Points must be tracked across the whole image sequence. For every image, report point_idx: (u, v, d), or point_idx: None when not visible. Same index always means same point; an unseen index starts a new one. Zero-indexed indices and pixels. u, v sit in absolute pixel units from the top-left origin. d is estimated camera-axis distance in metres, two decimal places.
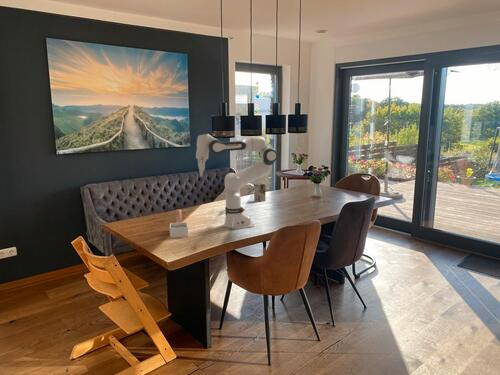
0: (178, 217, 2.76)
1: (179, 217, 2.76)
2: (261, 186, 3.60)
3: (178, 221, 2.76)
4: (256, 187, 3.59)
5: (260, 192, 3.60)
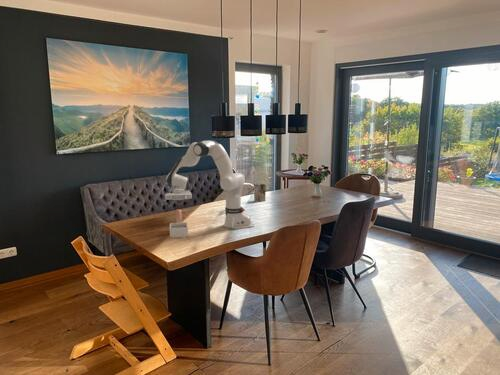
0: (178, 217, 2.76)
1: (179, 217, 2.76)
2: (261, 186, 3.60)
3: (178, 221, 2.76)
4: (256, 187, 3.59)
5: (260, 192, 3.60)
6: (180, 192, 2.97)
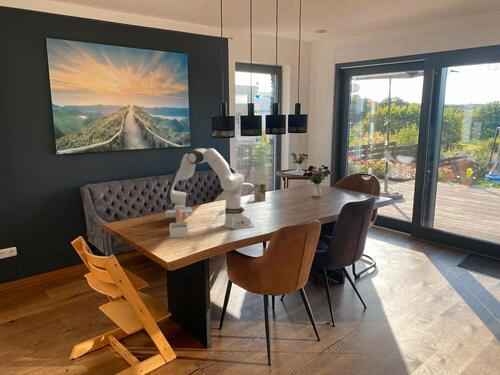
0: (178, 217, 2.76)
1: (179, 217, 2.76)
2: (261, 186, 3.60)
3: (178, 221, 2.76)
4: (256, 187, 3.59)
5: (260, 192, 3.60)
6: (181, 209, 2.94)
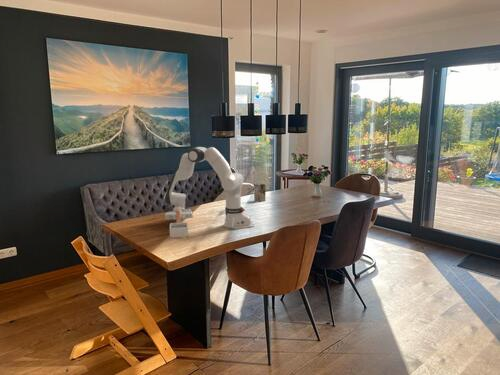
0: (178, 217, 2.76)
1: (179, 217, 2.76)
2: (261, 186, 3.60)
3: (178, 221, 2.76)
4: (256, 187, 3.59)
5: (260, 192, 3.60)
6: (181, 211, 2.87)
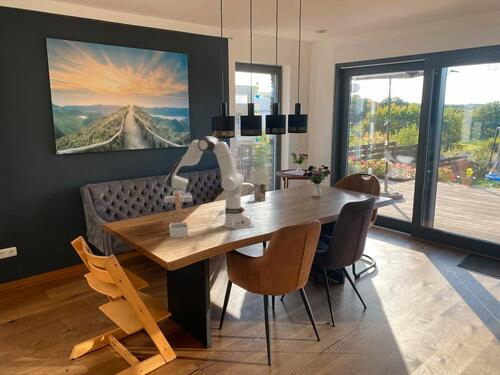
0: (177, 200, 2.73)
1: (178, 200, 2.73)
2: (261, 186, 3.60)
3: (177, 204, 2.74)
4: (256, 187, 3.59)
5: (260, 192, 3.60)
6: None
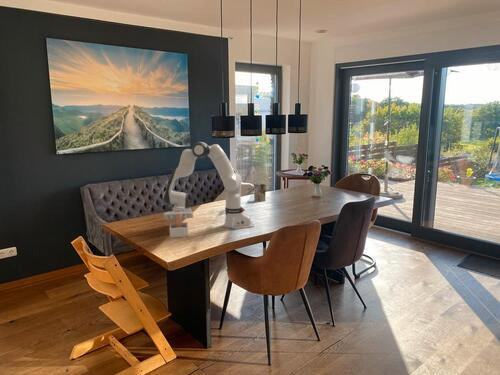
0: (178, 221, 2.62)
1: (179, 221, 2.63)
2: (261, 186, 3.60)
3: (178, 225, 2.63)
4: (256, 187, 3.59)
5: (260, 192, 3.60)
6: (180, 210, 2.73)
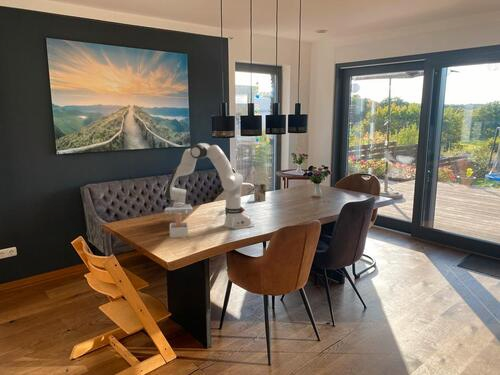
0: (178, 221, 2.62)
1: (179, 221, 2.63)
2: (261, 186, 3.60)
3: (178, 225, 2.63)
4: (256, 187, 3.59)
5: (260, 192, 3.60)
6: (180, 206, 2.86)
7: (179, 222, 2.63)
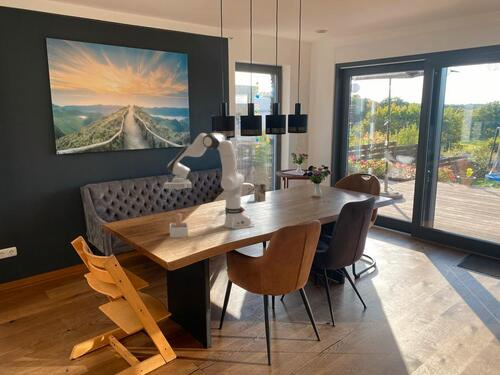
0: (178, 221, 2.62)
1: (179, 221, 2.63)
2: (261, 186, 3.60)
3: (178, 225, 2.63)
4: (256, 187, 3.59)
5: (260, 192, 3.60)
6: (180, 181, 2.88)
7: (179, 222, 2.63)
